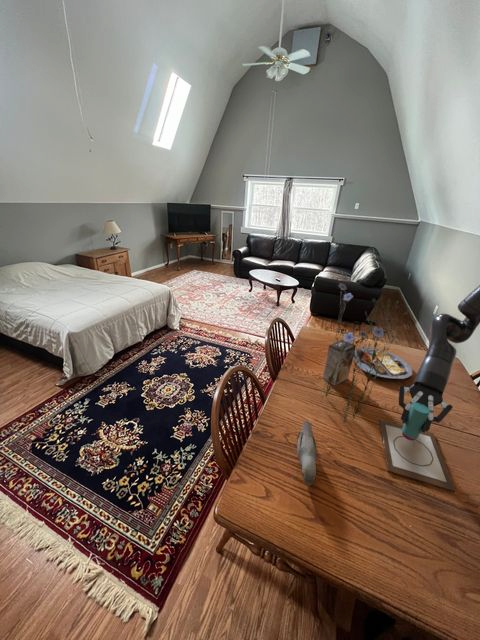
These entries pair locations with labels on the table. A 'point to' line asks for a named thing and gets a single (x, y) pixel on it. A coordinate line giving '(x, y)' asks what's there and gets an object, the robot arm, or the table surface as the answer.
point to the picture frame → (414, 457)
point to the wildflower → (349, 339)
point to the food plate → (383, 363)
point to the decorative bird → (307, 453)
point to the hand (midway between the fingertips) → (413, 427)
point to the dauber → (415, 421)
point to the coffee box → (343, 365)
